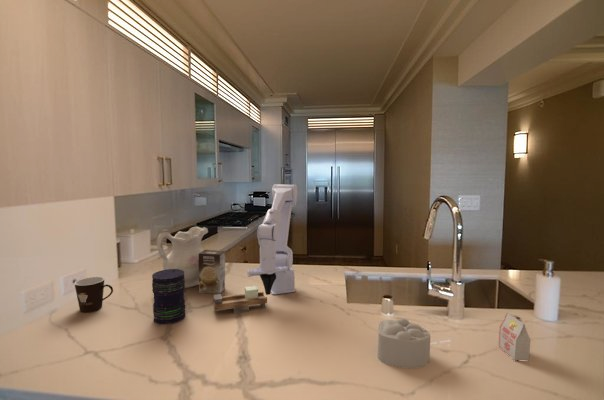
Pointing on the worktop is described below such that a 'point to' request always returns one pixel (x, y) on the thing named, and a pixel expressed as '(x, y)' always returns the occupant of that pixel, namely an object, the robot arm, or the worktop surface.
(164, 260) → the ceramic pitcher
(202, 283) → the coffee box
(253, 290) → the block
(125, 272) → the worktop surface
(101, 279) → the coffee mug
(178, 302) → the storage jar
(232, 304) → the beam
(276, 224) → the robot arm
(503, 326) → the gable top carton
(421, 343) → the lumpy-topped squat cylinder
